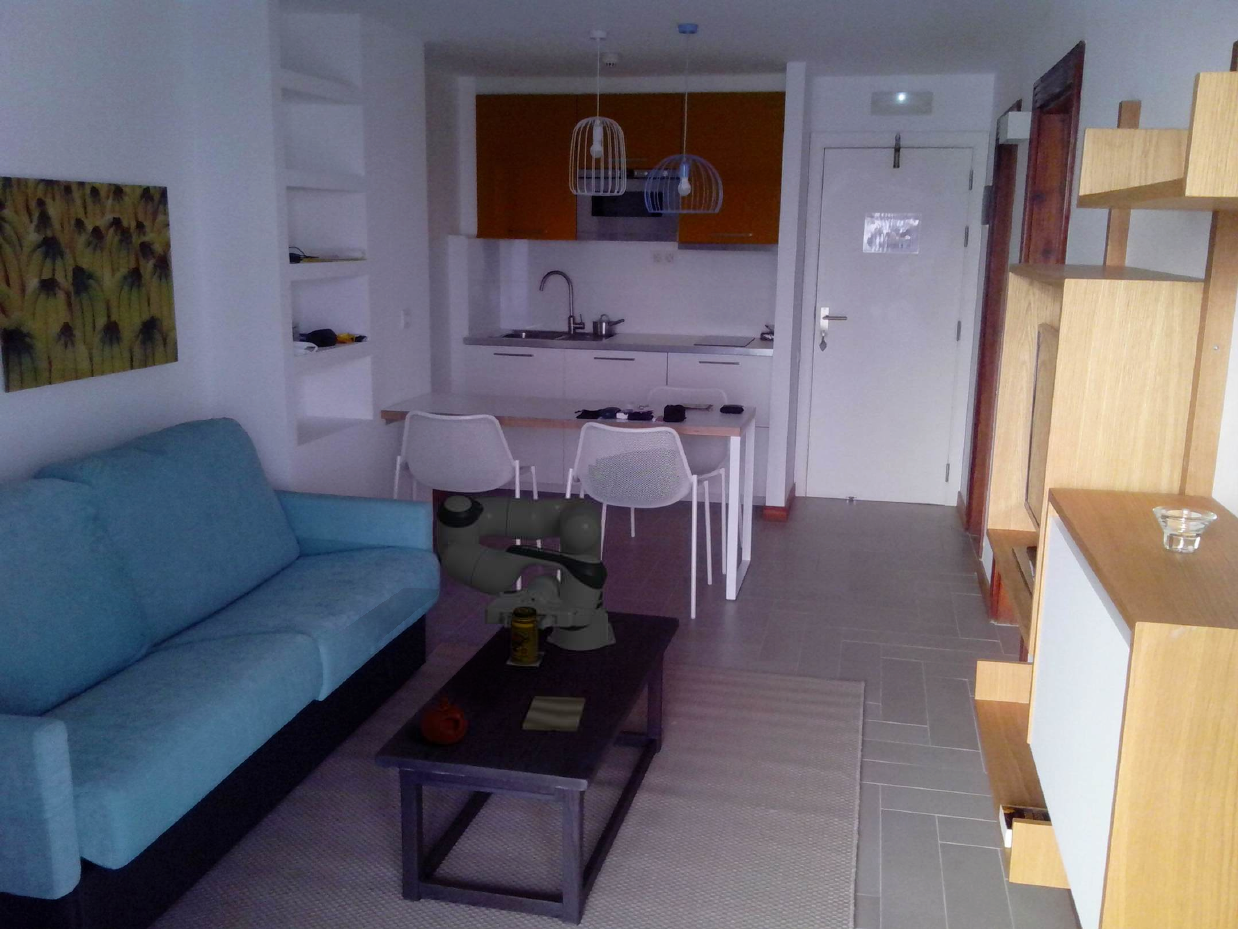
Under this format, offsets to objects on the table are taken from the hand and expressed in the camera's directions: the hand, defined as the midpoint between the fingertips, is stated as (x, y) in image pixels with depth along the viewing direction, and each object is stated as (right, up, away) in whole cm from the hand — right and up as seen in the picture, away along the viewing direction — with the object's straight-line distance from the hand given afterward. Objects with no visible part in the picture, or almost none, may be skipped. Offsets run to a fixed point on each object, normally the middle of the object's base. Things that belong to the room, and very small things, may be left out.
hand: (524, 625), depth 233 cm
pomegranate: (-17, -24, -5) cm, 30 cm away
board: (+6, -22, +7) cm, 24 cm away
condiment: (0, -8, +3) cm, 9 cm away
